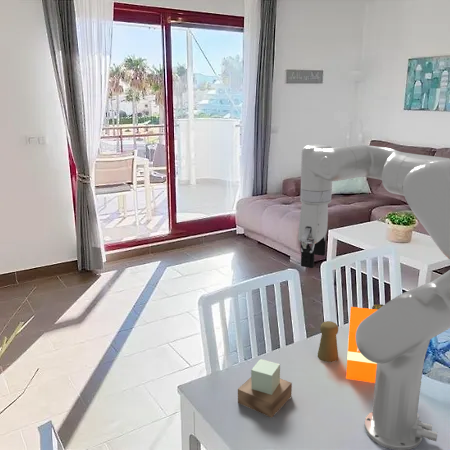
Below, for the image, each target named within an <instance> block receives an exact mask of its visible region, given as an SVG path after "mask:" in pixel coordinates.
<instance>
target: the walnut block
mask: <svg viewBox="0 0 450 450" xmlns="http://www.w3.org/2000/svg"><path fill="white" fill-rule="evenodd" d="M292 385H293V382H290V381H288V380H286V379H283V378H281V377H280V383H279V385H278V386H277V388H276V389H275V391H274V392H273V394H272V395H270V394H267V393H264V392H260V391H257V390H254V389H251V376H250V377H249V378H248V379H247V380H246V381H244V383H243V384H242V385H240V386H239V387H238V388H237V403H238V404H240V405H242V406H245V407H246V408H249V409H250V410H252V411H253V410H254V411H256V412H258V413H259V414H262V415H264V416H266V417H268V418H271V419H273V417H275V415H276V414H277V413H278V412H279V411H280V410H281V409H282V407H284V406H285V404H286V403H288V401H289V400H290V399H291V398H292V388H293V387H292Z"/></svg>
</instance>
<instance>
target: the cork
mask: <svg viewBox="0 0 450 450" xmlns="http://www.w3.org/2000/svg"><path fill="white" fill-rule="evenodd" d="M319 330H320V333H321V336H320V341H319V347H318V352H317V358H318V360H320V361H322V362H324V363H334V362H336V361H338V360H339V352H338V350H339V349H338V343H337V335H338V333H339V326H338V325H337V323H336V322H334V321H331V320H330V321H329V320H328V321H327V320H325V321H323V322H322V323H321V325H320V329H319Z"/></svg>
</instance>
